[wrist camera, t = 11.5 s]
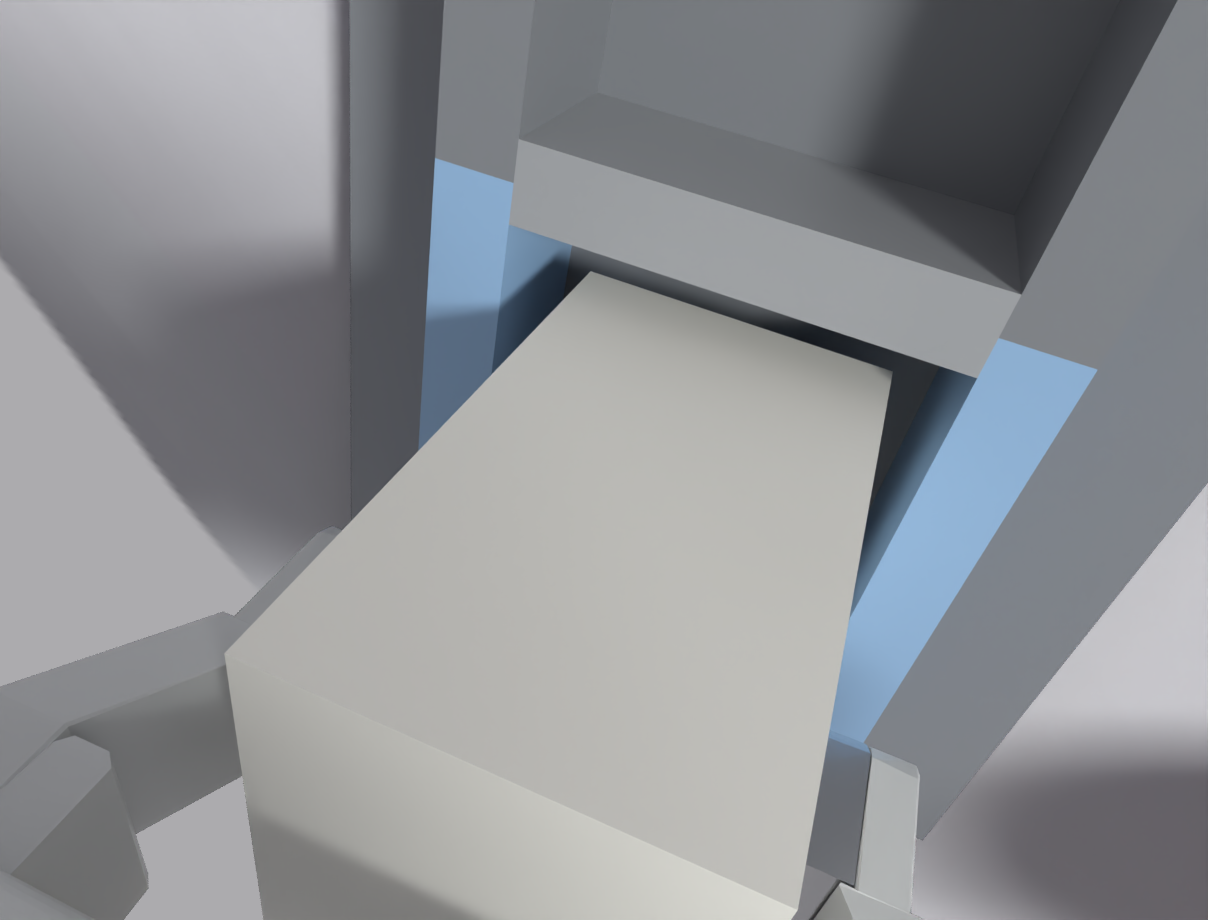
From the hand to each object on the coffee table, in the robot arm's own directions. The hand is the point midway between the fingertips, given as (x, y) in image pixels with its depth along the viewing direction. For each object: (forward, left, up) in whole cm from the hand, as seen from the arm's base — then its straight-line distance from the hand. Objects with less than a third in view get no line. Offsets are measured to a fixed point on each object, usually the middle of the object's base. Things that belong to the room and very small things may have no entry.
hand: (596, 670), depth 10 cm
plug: (0, 0, -4) cm, 4 cm away
